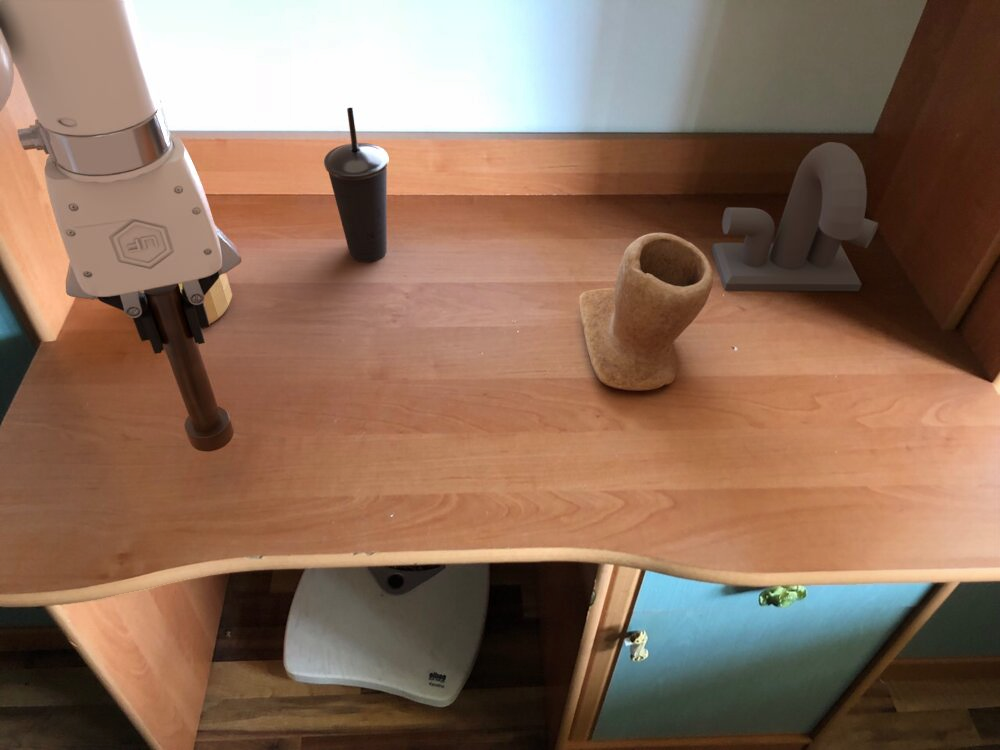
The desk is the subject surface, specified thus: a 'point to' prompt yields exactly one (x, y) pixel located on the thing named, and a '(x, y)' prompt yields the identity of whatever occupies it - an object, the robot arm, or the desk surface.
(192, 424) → the stirrer
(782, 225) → the faucet
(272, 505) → the desk surface
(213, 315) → the bowl
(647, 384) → the stone cup
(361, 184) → the drinking cup
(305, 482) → the desk surface
